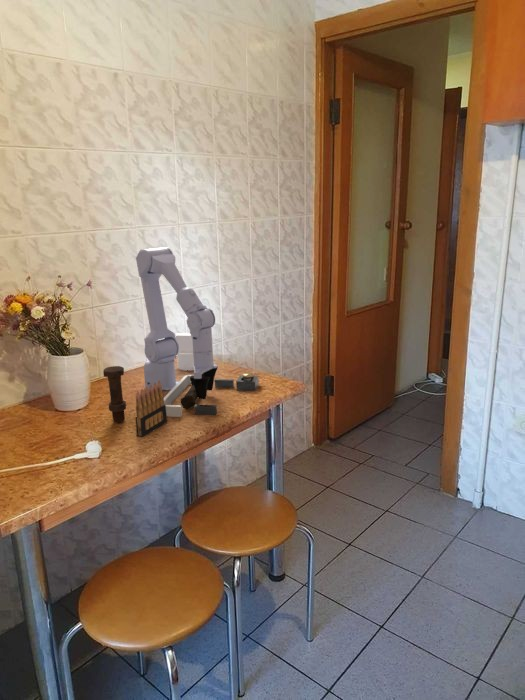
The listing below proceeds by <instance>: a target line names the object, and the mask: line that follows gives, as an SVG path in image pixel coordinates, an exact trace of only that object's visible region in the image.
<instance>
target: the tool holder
mask: <svg viewBox="0 0 525 700" xmlns="http://www.w3.org/2000/svg"><path fill="white" fill-rule="evenodd" d="M259 379H260V378H259V375H253V377H252V378H251V381H244V378H242V374H240V375H239V376H238V378H237V379H236V381H235V379H233V378H214V388H219V389H222V388H224V389H227V388H228V389H234V388H235V387H236V391H239V392H257V389H258V388H259V385H260V384H259V381H260V380H259ZM235 385H236V386H235ZM217 406H218V405H217V404H214V405H213V404H195V405H194V415H195V416H196V415H198V416H217V415H216V414H218V408H217Z"/></svg>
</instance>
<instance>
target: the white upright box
mask: <svg viewBox="0 0 525 700" xmlns="http://www.w3.org/2000/svg"><path fill="white" fill-rule="evenodd" d="M175 338H176V340H177V342H178V344H179V352H178V354H177V355H176V359H177V369H178V370H180V371H187V370H188V371H194V368H193V365H194V357H193V342H192V336H191V334H190V333H186V332H185V333H182V332H181V333H175Z"/></svg>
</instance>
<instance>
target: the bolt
mask: <svg viewBox="0 0 525 700" xmlns="http://www.w3.org/2000/svg"><path fill="white" fill-rule="evenodd" d="M124 369H125V367H123V366H120V365H113V366H107V367H105V368H104V369H103V372H102V373H103V374H102V375H103V378H107V381H108V385H109V386H108V387H109V388H108V389H109V396H110V397H109V398H110V402H109V403H108V411H110V412H111V413H112V421H113V422H114V423H115V424H121V423H122V422H124V421H125V420H126V419H125V418H126V416H125V410H126V409H127V402H126V401H125V399H124V397H123V389H122V386H123V385H122V376H124V374H125V370H124Z"/></svg>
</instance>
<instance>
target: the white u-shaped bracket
mask: <svg viewBox="0 0 525 700" xmlns="http://www.w3.org/2000/svg"><path fill="white" fill-rule="evenodd" d="M191 375H192V374H184V376H183V377H182V378H181V379H180V380H178V381H179V382H178V383H177V385H176V386H175V387H174V388H173V389H172V390H169V391H168V392H167V394H166V395H164V396H163V397H164V405H166V415H167V418H168V417H170V418H171V417H172V418H181V417H183V406H182V405H181V404H180V405H179V404H178V405H177V404H175V405H174V404H173V403H174V401H175V400H176V399H177V398H178V397H179V396H180V395H181V394H182V393H183V392H184V390H186V388H187V387H188V386H189V385H191V386H192V384H191V381H190V377H191Z"/></svg>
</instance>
